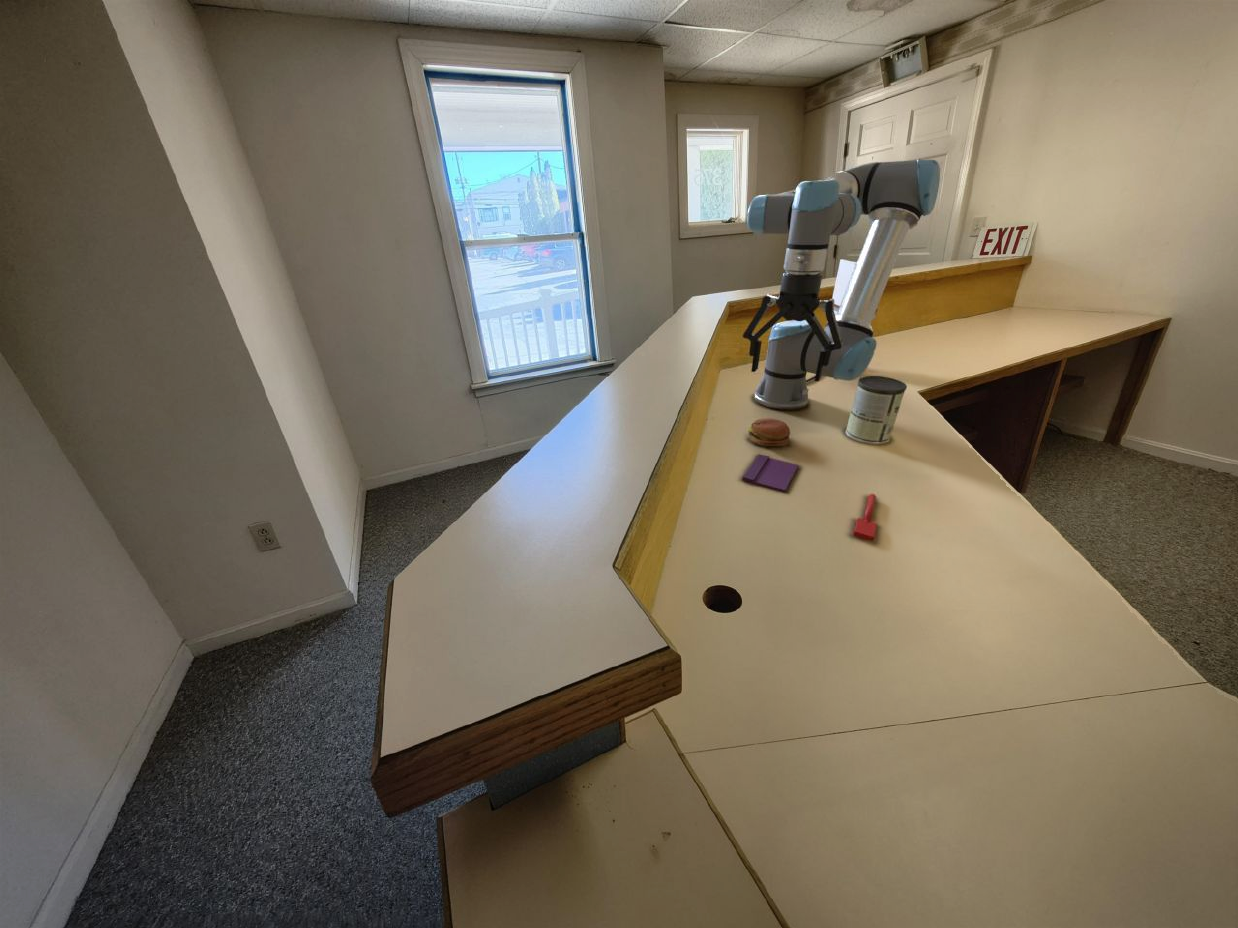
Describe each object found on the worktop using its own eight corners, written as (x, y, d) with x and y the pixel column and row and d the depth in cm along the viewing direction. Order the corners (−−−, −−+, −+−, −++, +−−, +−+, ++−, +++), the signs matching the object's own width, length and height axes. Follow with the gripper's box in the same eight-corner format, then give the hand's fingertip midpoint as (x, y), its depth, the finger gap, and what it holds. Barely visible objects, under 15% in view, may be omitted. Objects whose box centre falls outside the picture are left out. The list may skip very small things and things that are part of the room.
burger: (796, 444, 111) (799, 427, 109) (763, 451, 108) (766, 433, 106) (771, 429, 119) (774, 412, 117) (741, 434, 117) (743, 417, 114)
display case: (861, 370, 160) (889, 262, 142) (830, 370, 160) (855, 263, 143) (847, 360, 170) (872, 259, 152) (818, 361, 170) (840, 259, 153)
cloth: (758, 456, 106) (758, 453, 106) (798, 466, 102) (798, 463, 102) (742, 480, 97) (742, 477, 97) (784, 491, 93) (785, 488, 93)
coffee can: (845, 424, 121) (858, 373, 114) (888, 431, 117) (905, 378, 110) (844, 440, 113) (858, 386, 106) (890, 447, 109) (908, 392, 102)
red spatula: (863, 495, 92) (864, 490, 91) (880, 499, 90) (882, 494, 90) (853, 535, 80) (854, 530, 80) (873, 541, 79) (874, 536, 78)
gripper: (735, 271, 93) (725, 371, 103) (870, 278, 82) (843, 389, 92) (746, 266, 98) (735, 362, 109) (874, 273, 87) (848, 378, 98)
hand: (784, 375), depth 101 cm, fingers open, 13 cm apart
